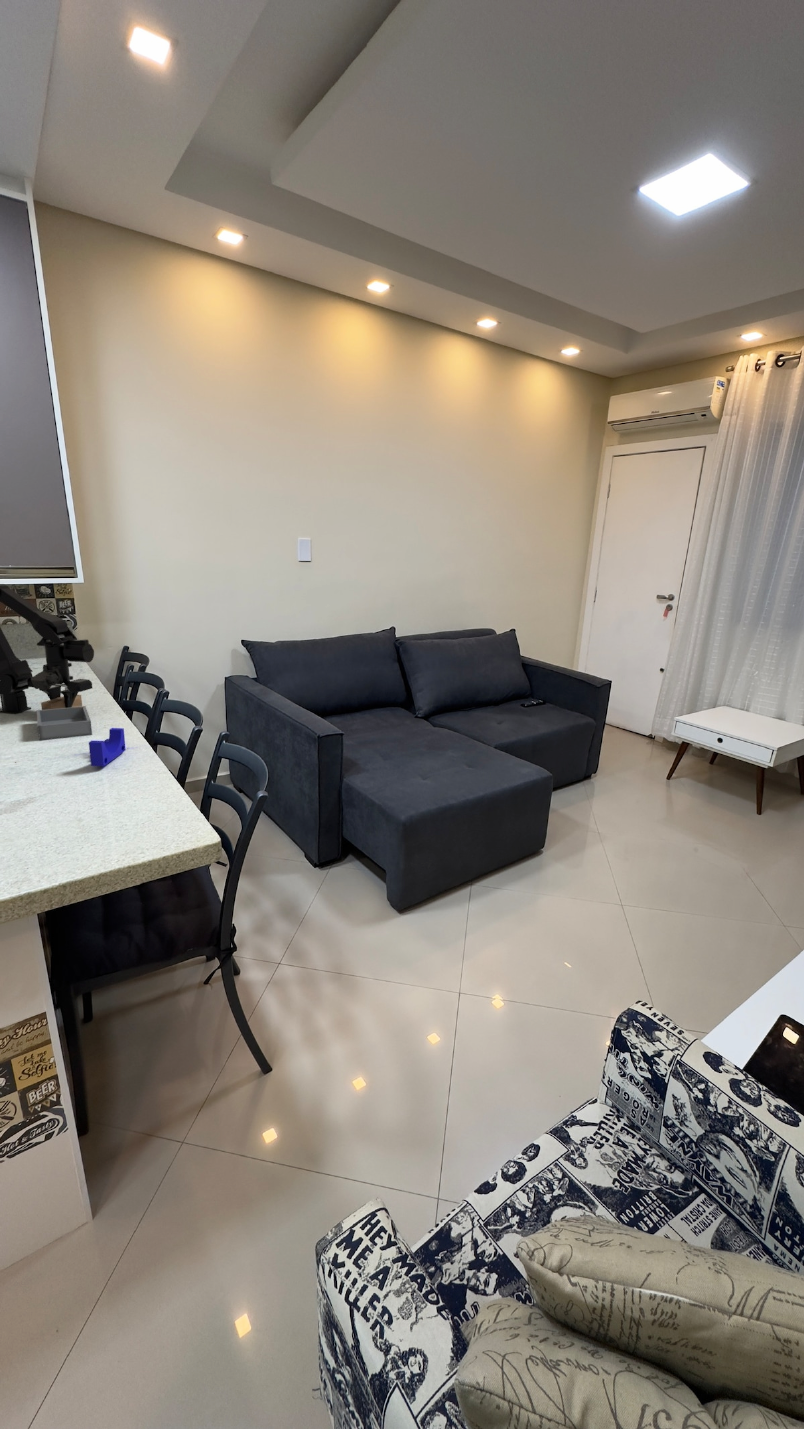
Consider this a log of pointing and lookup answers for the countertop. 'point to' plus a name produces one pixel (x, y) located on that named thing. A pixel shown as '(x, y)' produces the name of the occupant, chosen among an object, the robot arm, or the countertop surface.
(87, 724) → the bin
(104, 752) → the cable clip
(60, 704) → the strut
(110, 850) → the countertop surface
